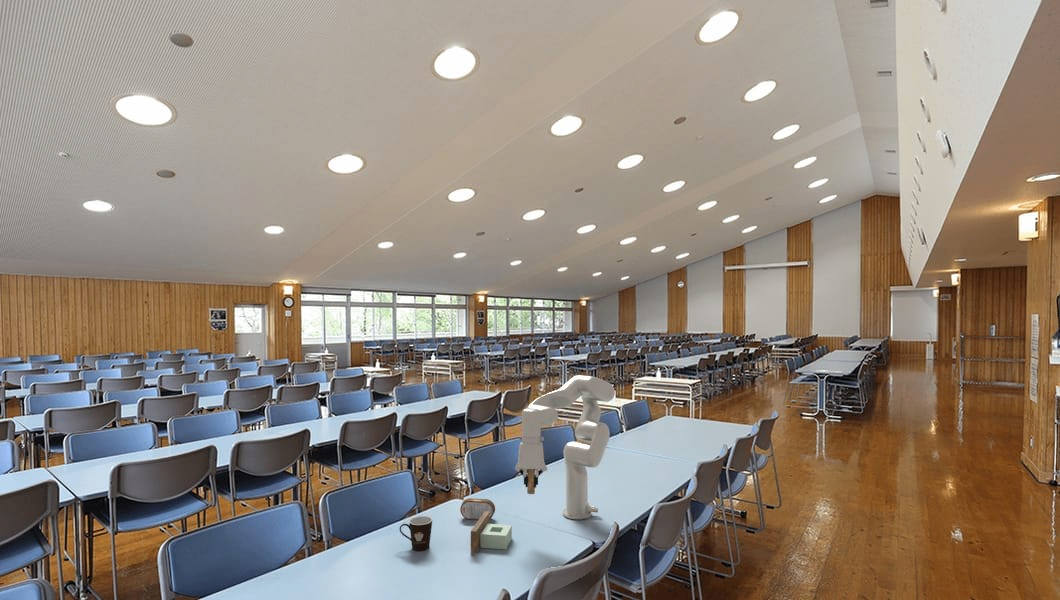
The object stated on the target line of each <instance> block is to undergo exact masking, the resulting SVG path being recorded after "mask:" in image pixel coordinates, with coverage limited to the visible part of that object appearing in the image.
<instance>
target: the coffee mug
mask: <svg viewBox="0 0 1060 600" xmlns="http://www.w3.org/2000/svg"><path fill="white" fill-rule="evenodd" d="M408 522H409V524H407V523H402V524H401V525H400V526H399V532H400V534H401V535H402V536H403V537H405V538H406V539H408V540H409V541H410V542H411V549H412V550H413V551H414V552H415V551H416V552H423V551H427V550H428V549H430V546H431V545H430V543H431V537H432V527H433V518H432V517H431V516H427V515H426V516H425V515H420V516H415V517H412V518H411V519H409V521H408ZM404 526H407V527H408V529H409V533H410V537H409V535H407V534H405V533H404V532H403V531H402V527H404Z"/></svg>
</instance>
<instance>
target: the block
mask: <svg viewBox="0 0 1060 600" xmlns="http://www.w3.org/2000/svg"><path fill="white" fill-rule="evenodd" d="M512 532H513V525H511V524H499V523H498V524H495V523H490V524H487V525H486V526H485V528H484V529H483V531H482V532H481V534H480V548H481V549H495V550H496V549H497V550H507V549H508V547H509V545H510V543H511V541H512V539H513V538H512V537H513V536H512V535H513V533H512ZM480 548H479V549H480Z"/></svg>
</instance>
